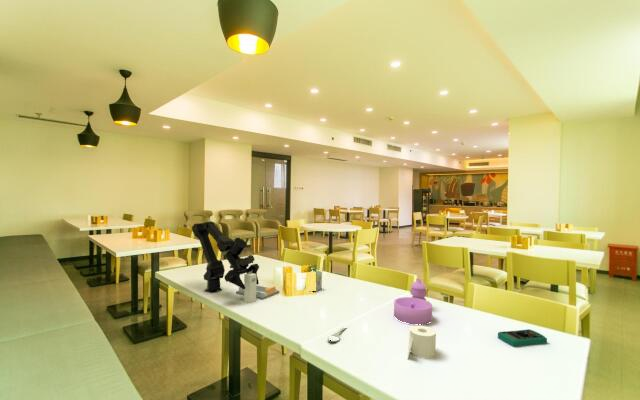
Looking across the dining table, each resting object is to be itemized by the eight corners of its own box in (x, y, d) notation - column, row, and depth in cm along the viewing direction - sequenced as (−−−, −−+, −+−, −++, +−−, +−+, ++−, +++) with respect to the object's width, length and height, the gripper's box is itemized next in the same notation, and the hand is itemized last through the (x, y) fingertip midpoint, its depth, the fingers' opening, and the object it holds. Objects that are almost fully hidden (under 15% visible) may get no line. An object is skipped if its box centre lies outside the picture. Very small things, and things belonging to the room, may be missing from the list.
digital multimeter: (548, 345, 108) (548, 336, 108) (513, 348, 105) (513, 339, 105) (530, 335, 115) (530, 328, 115) (496, 338, 112) (496, 330, 112)
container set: (428, 328, 119) (429, 294, 119) (390, 320, 126) (390, 288, 126) (436, 308, 141) (437, 280, 141) (403, 302, 148) (403, 275, 148)
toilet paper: (407, 359, 96) (407, 337, 96) (410, 343, 106) (410, 323, 106) (435, 365, 93) (435, 342, 93) (435, 348, 103) (435, 327, 103)
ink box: (314, 292, 162) (314, 267, 162) (308, 291, 164) (308, 266, 164) (321, 289, 167) (322, 265, 167) (316, 288, 170) (316, 264, 170)
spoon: (324, 343, 106) (324, 339, 106) (345, 322, 125) (345, 318, 125) (335, 346, 104) (335, 341, 104) (355, 324, 123) (355, 320, 123)
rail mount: (236, 293, 158) (236, 285, 158) (253, 287, 170) (253, 280, 170) (262, 299, 149) (262, 291, 149) (279, 292, 161) (279, 285, 161)
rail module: (244, 301, 146) (244, 274, 146) (249, 299, 150) (250, 272, 150) (250, 303, 144) (250, 275, 144) (256, 300, 148) (256, 273, 147)
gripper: (229, 253, 141) (246, 280, 135) (256, 247, 157) (273, 272, 152) (217, 268, 145) (233, 295, 139) (245, 261, 161) (261, 285, 156)
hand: (251, 286), depth 146 cm, fingers open, 9 cm apart
